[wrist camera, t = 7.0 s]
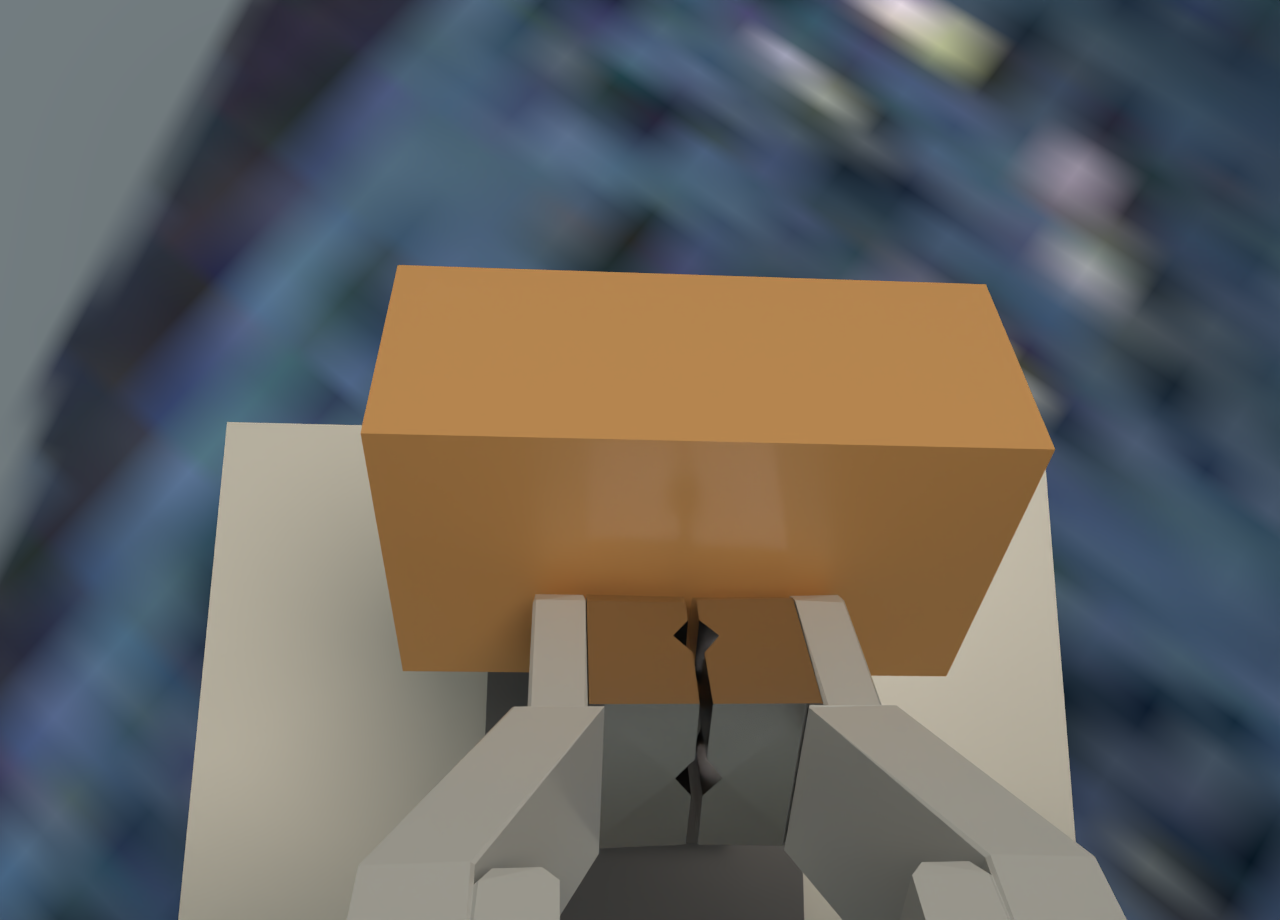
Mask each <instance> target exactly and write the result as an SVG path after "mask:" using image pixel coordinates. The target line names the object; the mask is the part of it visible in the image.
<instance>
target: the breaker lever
mask: <svg viewBox="0 0 1280 920" xmlns="http://www.w3.org/2000/svg"><path fill="white" fill-rule="evenodd" d="M361 439H362V445H363V450H364V456H365V461H366V467H367V473H368V478H369V484H370V489H371V495H372V501H373V506H374V512H375V518H376V523H377V529H378V534H379V540H380V546H381V551H382V557H383V562H384V568H385V574H386V579H387V585H388V590H389V596H390V602H391V607H392V613H393V618H394V624H395V630H396V635H397V641H398V646H399V652H400V658H401V663H402V669H403V671H443V672H529V667H530V647H531V628H532V608H533V601H534V597H535V594H561V595H583V596H584V597H585V601H586V595H625V596H665V597H683V598H684V600H685V604H686V610H687V616H688V623H689V613H690V607H691V602H692V598H789V597H790V596H809V595H839V596H840V597H841V598H842V599H843V600H844V601H845V604H846V607H847V610H848V612H849V615H850V618H851V621H852V623H853V626H854V629H855V632H856V635H857V637H858V640H859V643H860V646H861V648H862V651H863V654H864V657H865V660H866V662H867V665H868V668H869V671H870V673H871V676H947V674H948V672H949V670H950V668H951V666H952V663H953V661H954V659H955V657H956V655H957V653H958V651H959V649H960V647H961V645H962V643H963V641H964V638H965V636H966V634H967V632H968V630H969V628H970V626H971V624H972V622H973V620H974V618H975V615H976V613H977V611H978V609H979V607H980V605H981V603H982V601H983V599H984V597H985V595H986V593H987V590H988V588H989V586H990V584H991V582H992V580H993V578H994V576H995V574H996V572H997V570H998V567H999V565H1000V563H1001V561H1002V559H1003V557H1004V555H1005V553H1006V551H1007V549H1008V547H1009V545H1010V542H1011V540H1012V538H1013V536H1014V534H1015V532H1016V530H1017V528H1018V526H1019V524H1020V522H1021V520H1022V517H1023V515H1024V513H1025V511H1026V509H1027V507H1028V505H1029V503H1030V501H1031V499H1032V497H1033V494H1034V492H1035V490H1036V488H1037V486H1038V484H1039V482H1040V480H1041V478H1042V476H1043V474H1044V472H1045V469H1046V467H1047V465H1048V463H1049V461H1050V459H1051V457H1052V455H1053V453H1054V451H1055V448H1054V446H1053V443H1052V441H1051V439H1050V436H1049V434H1048V431H1047V429H1046V427H1045V424H1044V422H1043V420H1042V417H1041V415H1040V412H1039V410H1038V408H1037V405H1036V403H1035V401H1034V398H1033V396H1032V393H1031V391H1030V389H1029V386H1028V384H1027V381H1026V379H1025V377H1024V374H1023V372H1022V370H1021V367H1020V365H1019V362H1018V360H1017V358H1016V355H1015V353H1014V351H1013V348H1012V346H1011V343H1010V341H1009V339H1008V336H1007V334H1006V331H1005V329H1004V327H1003V324H1002V322H1001V320H1000V317H999V315H998V312H997V310H996V308H995V305H994V303H993V301H992V298H991V296H990V293H989V291H988V289H987V286H986V284H956V283H926V282H896V281H865V280H835V279H804V278H774V277H744V276H713V275H683V274H652V273H622V272H592V271H561V270H531V269H501V268H470V267H440V266H409V265H398V266H397V271H396V275H395V280H394V284H393V289H392V293H391V298H390V303H389V307H388V312H387V316H386V321H385V325H384V330H383V334H382V339H381V343H380V348H379V352H378V357H377V361H376V366H375V370H374V375H373V379H372V384H371V388H370V393H369V397H368V402H367V406H366V411H365V415H364V420H363V424H362V429H361ZM686 647H687V648H688V649H689V650H690V651H691V649H690V642H689V634H688V628H687V641H686ZM692 769H693V762H691V763H690V764H689V765H688V773H689V782H690V791H691V780H692ZM686 843H697V835H696V828H695V820H694V813H693V805H692V798H691V801H690V810H689V818H688V827H687V836H686Z"/></svg>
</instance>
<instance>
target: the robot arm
mask: <svg viewBox="0 0 1280 920" xmlns="http://www.w3.org/2000/svg"><path fill="white" fill-rule="evenodd" d="M687 628H688V634H689V642H690V649H691V651H690V650H689V649H688V648H687V647H686V641H687ZM691 762H693V769H692V780H691V791H690V782H689V773H688V765H689V764H690V763H691ZM691 798H692V805H693V813H694V820H695V828H696V835H697V843H698V845H753V846H785V848H784V850H785V852H786V853H787V854H788V855H789V856H790V858H791V859H792V860H793V861H794V862H795V864H796V865H797V866H798V867H799V868H800V870H801V871H802V872H803V873H804V874H805V876H806V877H807V878H808V879H809V880H810V882H811V883H812V884H813V885H814V886H815V888H816V889H817V890H818V891H819V892H820V894H821V895H822V896H823V897H824V898H825V900H826V901H827V902H828V903H829V904H830V906H831V907H832V908H833V909H834V910H835V912H836V913H837V914H838V915H839V916H840V918H841V919H842V920H1126V918H1125V916H1124V914H1123V912H1122V910H1121V908H1120V906H1119V904H1118V902H1117V900H1116V898H1115V896H1114V894H1113V892H1112V890H1111V888H1110V886H1109V884H1108V882H1107V880H1106V878H1105V876H1104V874H1103V872H1102V870H1101V868H1100V866H1099V864H1098V862H1097V860H1096V858H1095V857H1094V856H1093V855H1092V854H1091V853H1089V852H1088V851H1087V850H1085V849H1084V848H1083V847H1081V846H1080V845H1079V844H1077V843H1076V842H1075V841H1074V840H1072V839H1071V838H1070V837H1068V836H1067V835H1066V834H1064V833H1063V832H1062V831H1060V830H1059V829H1058V828H1056V827H1055V826H1054V825H1053V824H1051V823H1050V822H1049V821H1047V820H1046V819H1045V818H1043V817H1042V816H1041V815H1039V814H1038V813H1037V812H1036V811H1034V810H1033V809H1032V808H1030V807H1029V806H1028V805H1026V804H1025V803H1024V802H1022V801H1021V800H1020V799H1018V798H1017V797H1016V796H1015V795H1013V794H1012V793H1011V792H1009V791H1008V790H1007V789H1005V788H1004V787H1003V786H1001V785H1000V784H999V783H998V782H996V781H995V780H994V779H992V778H991V777H990V776H988V775H987V774H986V773H984V772H983V771H982V770H980V769H979V768H978V767H977V766H975V765H974V764H973V763H971V762H970V761H969V760H967V759H966V758H965V757H963V756H962V755H961V754H960V753H958V752H957V751H956V750H954V749H953V748H952V747H950V746H949V745H948V744H946V743H945V742H944V741H942V740H941V739H940V738H939V737H937V736H936V735H935V734H933V733H932V732H931V731H929V730H928V729H927V728H925V727H924V726H923V725H922V724H920V723H919V722H918V721H916V720H915V719H914V718H912V717H911V716H910V715H908V714H907V713H906V712H904V711H903V710H902V709H901V708H899V707H898V706H896V705H882V704H881V701H880V699H879V696H878V693H877V690H876V687H875V685H874V682H873V679H872V676H871V673H870V671H869V668H868V665H867V662H866V660H865V657H864V654H863V651H862V648H861V646H860V643H859V640H858V637H857V635H856V632H855V629H854V626H853V623H852V621H851V618H850V615H849V612H848V610H847V607H846V604H845V601H844V600H843V599H842V598H841V597H840V596H839V595H809V596H790V597H789V598H692V602H691V607H690V613H689V623H688V616H687V610H686V604H685V600H684V598H683V597H665V596H625V595H586V601H585V597H584V596H583V595H561V594H535V597H534V601H533V608H532V628H531V647H530V667H529V687H528V706H524V707H512V708H511V709H510V710H509V711H508V712H507V713H506V714H505V715H504V716H503V717H502V718H501V719H500V720H499V721H498V722H497V723H496V724H495V725H494V726H493V727H492V728H491V730H490V731H489V732H488V733H487V734H486V735H485V736H484V737H483V738H482V739H481V740H480V741H479V742H478V743H477V744H476V745H475V746H474V747H473V748H472V749H471V750H470V751H469V752H468V753H467V754H466V755H465V756H464V757H463V758H462V759H461V760H460V761H459V762H458V763H457V764H456V765H455V767H454V768H453V769H452V770H451V771H450V772H449V773H448V774H447V775H446V776H445V777H444V778H443V779H442V780H441V781H440V782H439V783H438V784H437V785H436V786H435V787H434V788H433V789H432V790H431V791H430V792H429V793H428V794H427V795H426V796H425V797H424V798H423V799H422V800H421V801H420V802H419V804H418V805H417V806H416V807H415V808H414V809H413V810H412V811H411V812H410V813H409V814H408V815H407V816H406V817H405V818H404V819H403V820H402V821H401V822H400V823H399V824H398V825H397V826H396V827H395V828H394V829H393V830H392V831H391V832H390V833H389V834H388V835H387V836H386V837H385V838H384V839H383V841H382V842H381V843H380V844H379V845H378V846H377V847H376V848H375V849H374V850H373V851H372V852H371V853H370V854H369V855H368V856H367V857H366V858H365V859H364V860H363V861H362V862H361V863H360V864H359V865H358V869H357V874H356V879H355V883H354V888H353V893H352V897H351V902H350V907H349V912H348V916H347V920H560V915H561V913H562V912H563V910H564V908H565V907H566V905H567V904H568V902H569V900H570V899H571V897H572V896H573V894H574V893H575V891H576V889H577V888H578V886H579V885H580V883H581V881H582V880H583V878H584V877H585V875H586V873H587V872H588V870H589V869H590V867H591V865H592V864H593V862H594V861H595V859H596V857H597V856H598V854H599V848H620V847H644V846H668V845H686V836H687V827H688V818H689V810H690V801H691Z"/></svg>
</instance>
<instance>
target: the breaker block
mask: <svg viewBox="0 0 1280 920" xmlns="http://www.w3.org/2000/svg"><path fill="white" fill-rule="evenodd" d="M361 429H362V425H324V424H282V423H240V422H227V430H226V440H225V450H224V460H223V470H222V481H221V491H220V501H219V511H218V521H217V531H216V542H215V552H214V562H213V572H212V582H211V592H210V603H209V613H208V623H207V633H206V643H205V653H204V664H203V674H202V684H201V694H200V704H199V714H198V725H197V735H196V745H195V755H194V765H193V775H192V786H191V796H190V806H189V816H188V826H187V836H186V847H185V857H184V867H183V877H182V887H181V898H180V908H179V918H178V920H347V916H348V912H349V907H350V902H351V897H352V893H353V888H354V883H355V879H356V874H357V869H358V865H359V864H360V863H361V862H362V861H363V860H364V859H365V858H366V857H367V856H368V855H369V854H370V853H371V852H372V851H373V850H374V849H375V848H376V847H377V846H378V845H379V844H380V843H381V842H382V841H383V839H384V838H385V837H386V836H387V835H388V834H389V833H390V832H391V831H392V830H393V829H394V828H395V827H396V826H397V825H398V824H399V823H400V822H401V821H402V820H403V819H404V818H405V817H406V816H407V815H408V814H409V813H410V812H411V811H412V810H413V809H414V808H415V807H416V806H417V805H418V804H419V802H420V801H421V800H422V799H423V798H424V797H425V796H426V795H427V794H428V793H429V792H430V791H431V790H432V789H433V788H434V787H435V786H436V785H437V784H438V783H439V782H440V781H441V780H442V779H443V778H444V777H445V776H446V775H447V774H448V773H449V772H450V771H451V770H452V769H453V768H454V767H455V765H456V764H457V763H458V762H459V761H460V760H461V759H462V758H463V757H464V756H465V755H466V754H467V753H468V752H469V751H470V750H471V749H472V748H473V747H474V746H475V745H476V744H477V743H478V742H479V741H480V740H481V739H482V738H483V737H484V736H485V735H486V734H487V733H488V732H489V731H490V730H491V728H492V727H493V726H494V725H495V724H496V723H497V722H498V721H499V720H500V719H501V718H502V717H503V716H504V715H505V714H506V713H507V712H508V711H509V710H510V709H511V708H512V707H524V706H528V687H529V672H443V671H403V669H402V663H401V658H400V652H399V646H398V641H397V635H396V630H395V624H394V618H393V613H392V607H391V602H390V596H389V590H388V585H387V579H386V574H385V568H384V562H383V557H382V551H381V546H380V540H379V534H378V529H377V523H376V518H375V512H374V506H373V501H372V495H371V489H370V484H369V478H368V473H367V467H366V461H365V456H364V450H363V445H362V439H361ZM872 679H873V682H874V685H875V687H876V690H877V693H878V696H879V699H880V701H881V704H882V705H896V706H898V707H899V708H901V709H902V710H903V711H904V712H906V713H907V714H908V715H910V716H911V717H912V718H914V719H915V720H916V721H918V722H919V723H920V724H922V725H923V726H924V727H925V728H927V729H928V730H929V731H931V732H932V733H933V734H935V735H936V736H937V737H939V738H940V739H941V740H942V741H944V742H945V743H946V744H948V745H949V746H950V747H952V748H953V749H954V750H956V751H957V752H958V753H960V754H961V755H962V756H963V757H965V758H966V759H967V760H969V761H970V762H971V763H973V764H974V765H975V766H977V767H978V768H979V769H980V770H982V771H983V772H984V773H986V774H987V775H988V776H990V777H991V778H992V779H994V780H995V781H996V782H998V783H999V784H1000V785H1001V786H1003V787H1004V788H1005V789H1007V790H1008V791H1009V792H1011V793H1012V794H1013V795H1015V796H1016V797H1017V798H1018V799H1020V800H1021V801H1022V802H1024V803H1025V804H1026V805H1028V806H1029V807H1030V808H1032V809H1033V810H1034V811H1036V812H1037V813H1038V814H1039V815H1041V816H1042V817H1043V818H1045V819H1046V820H1047V821H1049V822H1050V823H1051V824H1053V825H1054V826H1055V827H1056V828H1058V829H1059V830H1060V831H1062V832H1063V833H1064V834H1066V835H1067V836H1068V837H1070V838H1071V839H1072V840H1074V841H1075V842H1076V840H1075V828H1074V815H1073V803H1072V790H1071V778H1070V766H1069V753H1068V741H1067V728H1066V716H1065V703H1064V691H1063V678H1062V666H1061V654H1060V641H1059V629H1058V616H1057V604H1056V591H1055V579H1054V567H1053V554H1052V542H1051V529H1050V517H1049V504H1048V492H1047V479H1046V469H1045V472H1044V474H1043V476H1042V478H1041V480H1040V482H1039V484H1038V486H1037V488H1036V490H1035V492H1034V494H1033V497H1032V499H1031V501H1030V503H1029V505H1028V507H1027V509H1026V511H1025V513H1024V515H1023V517H1022V520H1021V522H1020V524H1019V526H1018V528H1017V530H1016V532H1015V534H1014V536H1013V538H1012V540H1011V542H1010V545H1009V547H1008V549H1007V551H1006V553H1005V555H1004V557H1003V559H1002V561H1001V563H1000V565H999V567H998V570H997V572H996V574H995V576H994V578H993V580H992V582H991V584H990V586H989V588H988V590H987V593H986V595H985V597H984V599H983V601H982V603H981V605H980V607H979V609H978V611H977V613H976V615H975V618H974V620H973V622H972V624H971V626H970V628H969V630H968V632H967V634H966V636H965V638H964V641H963V643H962V645H961V647H960V649H959V651H958V653H957V655H956V657H955V659H954V661H953V663H952V666H951V668H950V670H949V672H948V674H947V676H872ZM784 848H785V846H753V845H698V843H686V845H668V846H644V847H620V848H599V854H598V856H597V857H596V859H595V861H594V862H593V864H592V865H591V867H590V869H589V870H588V872H587V873H586V875H585V877H584V878H583V880H582V881H581V883H580V885H579V886H578V888H577V889H576V891H575V893H574V894H573V896H572V897H571V899H570V900H569V902H568V904H567V905H566V907H565V908H564V910H563V912H562V913H561V915H560V920H842V919H841V918H840V916H839V915H838V914H837V913H836V912H835V910H834V909H833V908H832V907H831V906H830V904H829V903H828V902H827V901H826V900H825V898H824V897H823V896H822V895H821V894H820V892H819V891H818V890H817V889H816V888H815V886H814V885H813V884H812V883H811V882H810V880H809V879H808V878H807V877H806V876H805V874H804V873H803V872H802V871H801V870H800V868H799V867H798V866H797V865H796V864H795V862H794V861H793V860H792V859H791V858H790V856H789V855H788V854H787V853H786V852H785V850H784Z"/></svg>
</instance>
